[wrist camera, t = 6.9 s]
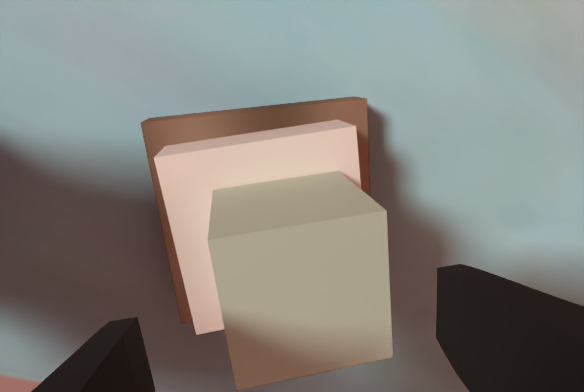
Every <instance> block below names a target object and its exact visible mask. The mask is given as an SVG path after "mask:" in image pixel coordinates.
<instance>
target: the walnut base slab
mask: <svg viewBox="0 0 584 392" xmlns="http://www.w3.org/2000/svg"><path fill="white" fill-rule="evenodd" d="M332 120H340V121H343V122H346V123H349V124H352V125H354V126H356V132H357V144H358V156H359V168H360V180H361V190H362V191H363V192H365V193H366V194H367V195H368V196H370V176H369V147H368V117H367V99H365V98H359V97H345V98H336V99H326V100H317V101H307V102H298V103H288V104H279V105H269V106H260V107H250V108H241V109H231V110H222V111H212V112H203V113H193V114H184V115H174V116H165V117H155V118H149V119H147V120H145V121H143V122H141V127H142V132H143V137H144V142H145V147H146V152H147V157H148V161H149V166H150V171H151V176H152V181H153V186H154V191H155V196H156V201H157V206H158V211H159V215H160V220H161V225H162V230H163V235H164V240H165V245H166V250H167V255H168V260H169V264H170V269H171V274H172V279H173V284H174V289H175V294H176V299H177V304H178V309H179V313H180V318H181V323H186V322H192V321H193V319H192V315H191V311H190V307H189V302H188V298H187V294H186V290H185V286H184V282H183V278H182V273H181V269H180V265H179V261H178V257H177V253H176V248H175V244H174V240H173V236H172V232H171V228H170V223H169V219H168V215H167V211H166V207H165V203H164V199H163V194H162V190H161V186H160V182H159V178H158V174H157V169H156V165H155V161H154V157H155V156H156V155H157V154H158V153H159V152H160V151H161V150H162V149H163V148H164V147H165V146H168V145H175V144H181V143H188V142H194V141H201V140H207V139H214V138H220V137H227V136H233V135H240V134H246V133H253V132H259V131H266V130H273V129H279V128H286V127H292V126H299V125H305V124H312V123H318V122H325V121H332Z"/></svg>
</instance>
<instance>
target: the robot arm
mask: <svg viewBox="0 0 584 392" xmlns="http://www.w3.org/2000/svg"><path fill="white" fill-rule="evenodd" d="M436 339H437V340H438V342H439V344H440V346H441V348H442V349H443V351H444V353H445V355H446V357H447V358H448V360H449V362H450V363H451V365H452V367H453V368H454V370H455V372H456V373H457V375H458V376H459V378H460V379H461V380H462V382H463V383H464V385H465V386H466V387H467V389H468V390H469V391H470V392H584V306H581V305H578V304H575V303H572V302H569V301H566V300H563V299H560V298H557V297H554V296H552V295H549V294H546V293H543V292H540V291H538V290H535V289H532V288H529V287H527V286H524V285H521V284H519V283H516V282H513V281H510V280H508V279H505V278H502V277H500V276H497V275H494V274H491V273H488V272H485V271H483V270H480V269H476V268H473V267H470V266H466V265H462V264H458V265H452V266H446V267H440V268H437V321H436ZM32 392H155V387H154V383H153V379H152V375H151V371H150V367H149V363H148V358H147V354H146V350H145V346H144V342H143V338H142V334H141V330H140V326H139V322H138V318H137V317H135V318H129V319H123V320H117V321H111V322H109V323H107V324H106V325H105V326H104V327H102V328H101V329H100V330H99V331H98V332H97V333H95V334H94V335H93V336H92V337H91V338H90V339H89V340H88V341H87V342H85V343H84V344H83V345H82V346H81V347H80V348H79V349H78V350H77V351H76V352H75V353H74V354H72V355H71V356H70V357H69V358H68V359H67V360H66V361H65V362H64V363H63V364H61V365H60V366H59V367H58V368H57V369H56V370H55V371H54V372H53V373H52V374H50V375H49V376H48V377H47V378H46V379H45V380H44V381H43V382H42V383H41V384H39V385H38V386H37V387H36V388H35V389H34V390H33V391H32Z"/></svg>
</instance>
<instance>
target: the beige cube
mask: <svg viewBox="0 0 584 392" xmlns="http://www.w3.org/2000/svg"><path fill="white" fill-rule="evenodd" d="M207 241H208V246H209V251H210V256H211V261H212V267H213V272H214V277H215V282H216V287H217V293H218V298H219V303H220V308H221V313H222V319H223V324H224V329H225V334H226V339H227V345H228V350H229V355H230V360H231V365H232V371H233V376H234V381H235V386H236V391H237V390H242V389H246V388H251V387H256V386H261V385H265V384H270V383H275V382H279V381H284V380H289V379H293V378H298V377H303V376H307V375H312V374H317V373H322V372H326V371H331V370H336V369H340V368H345V367H350V366H354V365H359V364H364V363H369V362H373V361H378V360H383V359H387V358H392V357H393V350H392V326H391V302H390V278H389V255H388V231H387V210H385V209H384V208H383V207H382V206H380V205H379V204H378V203H377V202H376V201H374V200H373V199H372V198H371V197H370V196H368V195H367V194H366V193H365V192H363V191H362V190H361V189H360V188H359V187H357V186H356V185H355V184H354V183H353V182H351V181H350V180H349V179H348V178H346V177H345V176H344V175H343V174H342V173H340V172H339V171H334V172H328V173H321V174H315V175H308V176H301V177H295V178H288V179H281V180H275V181H268V182H262V183H255V184H248V185H242V186H235V187H229V188H222V189H215V190H213V193H212V203H211V212H210V221H209V230H208V240H207Z"/></svg>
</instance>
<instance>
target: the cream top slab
mask: <svg viewBox="0 0 584 392" xmlns="http://www.w3.org/2000/svg"><path fill="white" fill-rule="evenodd" d="M154 161H155V165H156V169H157V174H158V178H159V182H160V186H161V190H162V194H163V199H164V203H165V207H166V211H167V215H168V219H169V223H170V228H171V232H172V236H173V240H174V244H175V248H176V253H177V257H178V261H179V265H180V269H181V273H182V278H183V282H184V286H185V290H186V294H187V298H188V302H189V307H190V311H191V315H192V319H193V323H194V327H195V332H196V335H198V334H203V333H208V332H213V331H218V330H222V329H224V324H223V319H222V313H221V308H220V303H219V298H218V293H217V287H216V282H215V277H214V272H213V267H212V261H211V256H210V251H209V246H208V241H207V240H208V230H209V221H210V212H211V203H212V193H213V190H215V189H222V188H229V187H235V186H242V185H248V184H255V183H262V182H268V181H275V180H281V179H288V178H295V177H301V176H308V175H315V174H321V173H328V172H334V171H339V172H340V173H342V174H343V175H344V176H345V177H346V178H348V179H349V180H350V181H351V182H353V183H354V184H355V185H356V186H357V187H359V188H360V189H361V180H360V168H359V156H358V144H357V132H356V126H354V125H352V124H349V123H346V122H343V121H340V120H332V121H325V122H318V123H312V124H305V125H299V126H292V127H286V128H279V129H273V130H266V131H259V132H253V133H246V134H240V135H233V136H227V137H220V138H214V139H207V140H201V141H194V142H188V143H181V144H175V145H168V146H165V147H164V148H163V149H162V150H161V151H160V152H159V153H158V154H157V155H156V156H155V157H154Z"/></svg>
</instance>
